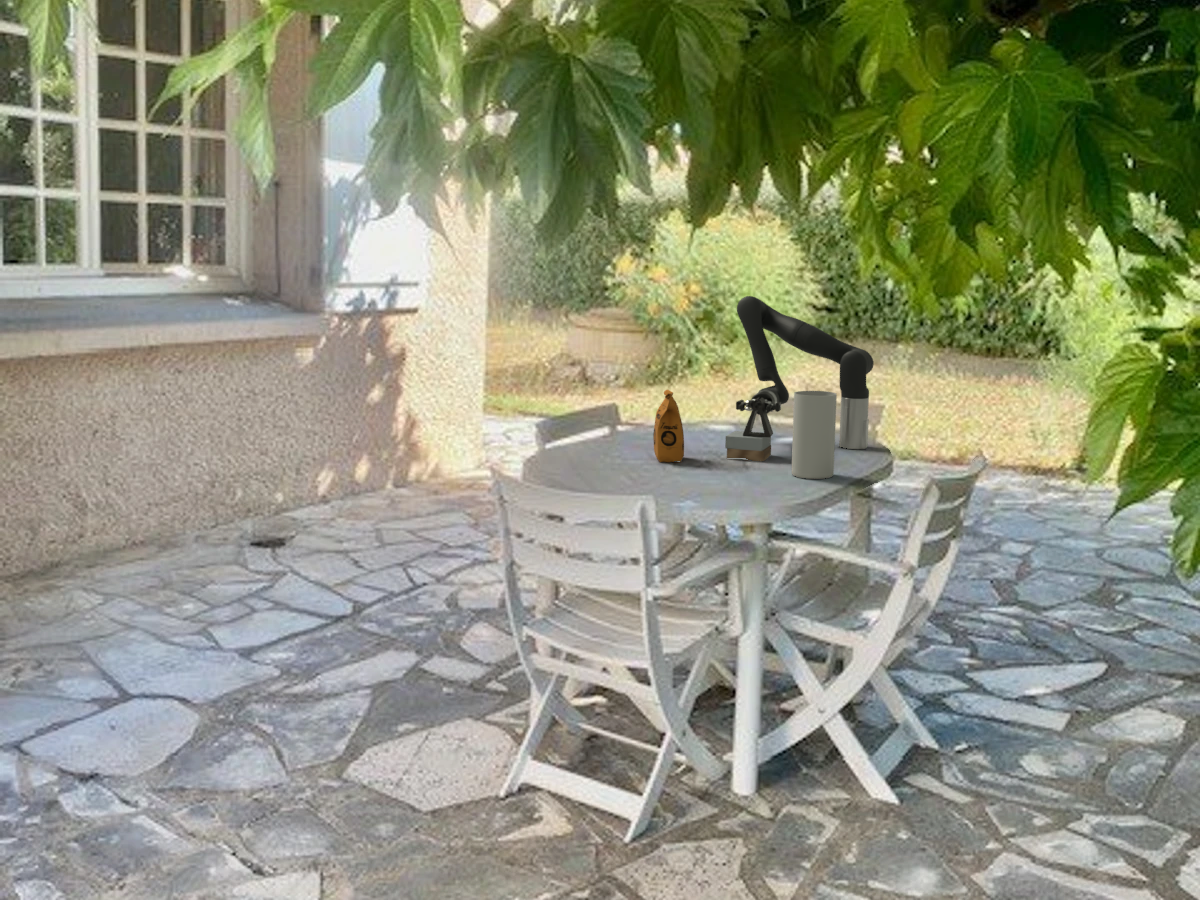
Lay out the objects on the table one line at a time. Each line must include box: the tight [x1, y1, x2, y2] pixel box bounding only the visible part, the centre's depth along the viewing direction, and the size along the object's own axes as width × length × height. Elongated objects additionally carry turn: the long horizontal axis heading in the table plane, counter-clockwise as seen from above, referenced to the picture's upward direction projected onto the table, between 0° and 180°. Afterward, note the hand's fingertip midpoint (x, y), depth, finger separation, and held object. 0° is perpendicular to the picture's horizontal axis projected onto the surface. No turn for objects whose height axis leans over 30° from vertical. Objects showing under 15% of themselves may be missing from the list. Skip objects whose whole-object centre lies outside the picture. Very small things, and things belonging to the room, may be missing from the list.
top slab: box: [724, 430, 772, 451], centre depth 408 cm, size 12×12×4 cm
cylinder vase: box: [791, 390, 838, 480], centre depth 376 cm, size 12×12×25 cm
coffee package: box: [652, 389, 685, 463], centre depth 402 cm, size 10×12×22 cm
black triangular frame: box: [743, 397, 774, 438], centre depth 405 cm, size 9×6×12 cm, turn 73°
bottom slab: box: [726, 445, 772, 462], centre depth 408 cm, size 12×12×4 cm
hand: (754, 408), depth 404 cm, fingers open, 8 cm apart
